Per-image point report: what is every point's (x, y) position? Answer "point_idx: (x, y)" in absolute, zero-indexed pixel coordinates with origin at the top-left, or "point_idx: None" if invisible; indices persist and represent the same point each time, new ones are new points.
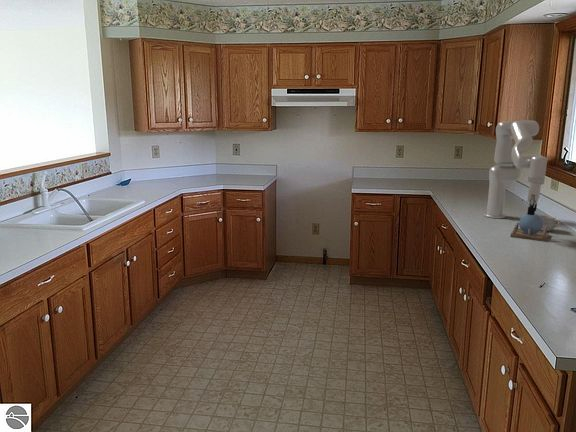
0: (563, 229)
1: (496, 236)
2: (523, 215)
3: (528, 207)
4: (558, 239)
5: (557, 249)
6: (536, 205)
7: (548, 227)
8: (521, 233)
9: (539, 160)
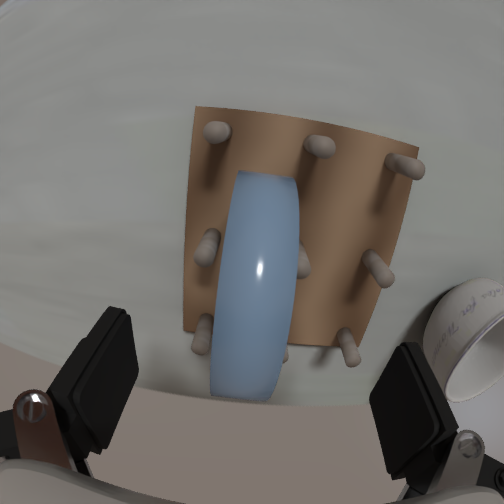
0: None
1: (170, 24)
2: (228, 242)
3: (57, 387)
4: None
5: (78, 338)
6: (392, 459)
7: (424, 349)
8: None
9: None
